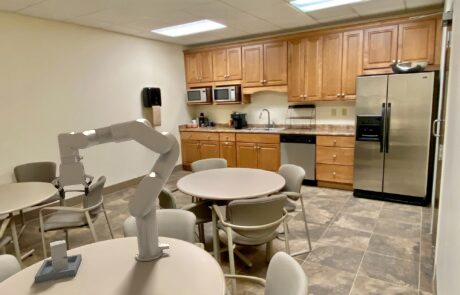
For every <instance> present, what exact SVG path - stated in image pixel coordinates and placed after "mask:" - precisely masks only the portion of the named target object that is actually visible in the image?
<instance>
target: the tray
mask: <svg viewBox="0 0 460 295" xmlns="http://www.w3.org/2000/svg"><path fill="white" fill-rule="evenodd" d="M67 259H68V269H66V270H62V271H56V272H53V267H52V259H51V258H50V259H45V260H44V261H43V263H42V264H41V265H40V267H39V269H38V270H37V272H36V274H35V276H33V277H34V283H35V284H36V285H37V284H41V283H46V282H51V281H56V280H62V279H68V278H73V277H77V275H78V274H77V273H78V271H79V268H80V267H81V264H82V261H83V258H82V253H79V254H73V255H67Z"/></svg>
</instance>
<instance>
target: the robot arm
mask: <svg viewBox="0 0 460 295" xmlns="http://www.w3.org/2000/svg"><path fill="white" fill-rule="evenodd" d="M129 141H134V142H137V143H138V144H140V145H141V146H144V147H145V148H146V149H148V150H149V151H152V152H154V153H155V154H158V157H157V159H156V160H155V163H154V164H153V166H152V167H151V169H150V170H149V172H148V173H147V174H146V175H145V176H143V178H142V179H141V180H140V182H139V184H138V186H137V187H136V189H135V190H134V192H133V194H132V196H131V197H130V199H129V201H128V203H127V211H128V213H129V214H130V216H132V217H133V218H135V219H134V220H135V228H136V241H137V251H136V252H135V259H136V260H137V261H140V262H151V261H154V260H156V259H159V258H160V257H161V256H162V255H163V254H164V251H165V250H170V245H169V244H167V243H160V240H159V230H158V218H157V199H158V197H159V196H160V194H161V192H162V191H163V189H164V188H165V186H166V183H167V181H168V180H169V177H170V176H171V174H172V173H173V171H174V168H175V167H176V165H177V163H178V160H179V158H180V154H181V153H180V152H181V150H180V149H181V148H180V143H179V141H178V140H177V138H176V136H175V135H174V134H173V133H171V132H169V131H163V132H160V131H158V130H157V129H155V128H154V127H153V126H152V124H151V122H150V121H149V120H148V119H145V118H138V119H133V120H128V121H124V122H118V123H114V124H110V125H108V126H104V127H99V128H94V129H89V130H88V129H87V130H82V131H78V132H74V131H73V132H71V131H69V132H60V133H58V135H57V143H58V148H59V156H60V157H59V158H60V163H59V168H58V169H59V170H58V171H59V172H58V173H59V176H58V177H56V178H55V179H53V180H52V181H50V183H51V185H53V187H54V188H55V189H56V190H58V191H59V197H60V198H61V200H64V199H65V198H66V194H65V189H64V187H67V186H69V187H70V186H77V185H82V186H84V187H83V188H84V196H85V197H88V196H89V194H90V187H89V186H90V185H92V183H93V181H94V178H95V177H94V176H92V175H89V174H88V173H86V170H85V167H84V162H83V161H81V160H84V156H83V155H82V156H81V154H80V151H79V150H84V149H89V148H91V147H94V146H98V145H105V144H109V143H115V144H119V143H124V142H129ZM87 179H89V180H88V182H87ZM58 181H59V184H60V185H59V184H58V183H57V182H58Z"/></svg>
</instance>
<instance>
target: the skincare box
mask: <svg viewBox="0 0 460 295" xmlns="http://www.w3.org/2000/svg"><path fill="white" fill-rule="evenodd" d="M49 250H50V259H52V267H53V272H56V271H62V270H66V269H68V259H67V256H68V253H67V242H66V239H62V240H56V241H53V242H50V243H49Z"/></svg>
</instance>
